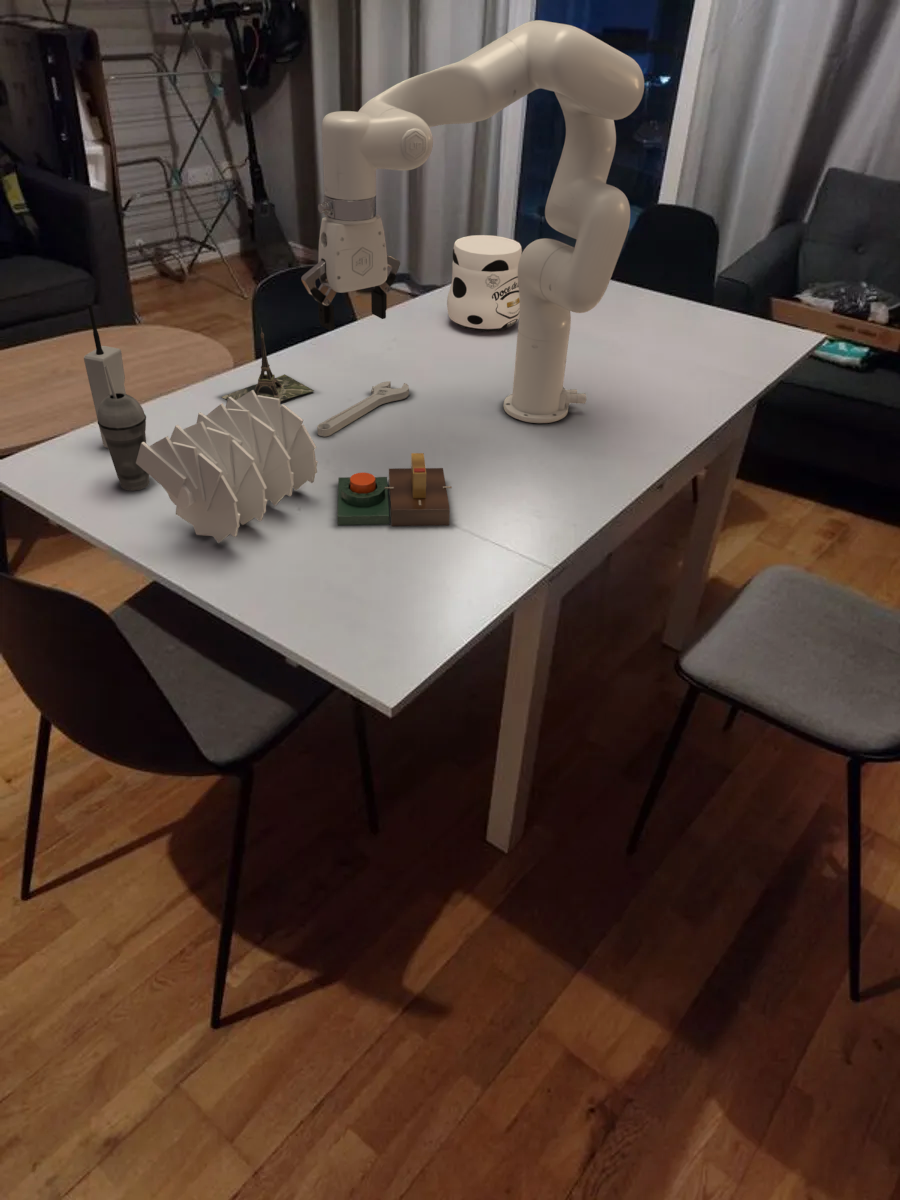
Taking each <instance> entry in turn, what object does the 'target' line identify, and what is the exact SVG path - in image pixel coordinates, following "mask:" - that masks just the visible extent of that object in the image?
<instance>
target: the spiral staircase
mask: <svg viewBox="0 0 900 1200" xmlns="http://www.w3.org/2000/svg"><path fill="white" fill-rule="evenodd" d="M317 448H318V447H317V446H316V444H315V442H314V440H313V438H312V437H311V435H310V433H309V431H308V429H307V428H306V426H305V424H304V419H303V418H302V417H300V416H299V415H298V414H297V413H296V412H295V411H293V410H292V409H290V408H289V407H288V406H286V405H285V404H281V401H280V399H278V398H272V397H266V396H260V395H258V396H257V395H256V394H255V392H254V390H252V391H250V392H248V393H247V394H245V395H243V396H242V397H240V398H239V399H237V400H236V401H235V400H234V399H233V398H232V397H228V400H226V403H225V405H224V403H223V402H222V403H220V404H219V405H217V406H216V407H215V408H214V409H212V410H211V411H210V412H209V413H208V414H206V415H205V413H203V412H198V414H197V418H196V423H195V424H192V425H190V426H187V427H185V428H182V427H181V426H180V424H176V425H175V426H174V428H173V430H172V433H171V435H170V436H169V435H167V436H164V437H163V438H161V439H159V440H158V441H156V442H154V443H152V444H151V445H149V444H147V442H146V443H145V442H142V443H141V446H140V449H139V453H138V457H137V460H136V464H137V465H138V466H140V467H141V468H142V469H143V470H144V471H146V472H147V473H148V474H149V477H151V478H153V480H154V481H156V482H157V483H158V484H160V485H161V487H162V488H163V489H164V491H165V492H166V493H167V495H168V498H169V499H170V501H171V502H172V504H173V505H174V506H175V515H176V516H178V517H180V519H182V520H184V521H186V522H187V523H188V524H190V525H191V526H193V527H192V528H193V529H194V532H195V535H196V536H204V537H205V536H207V537H213V538H214V540H215V541H216V542H217V543H218V544H219V543H220V542H222V541H223V540H224V539H226V538H227V537H228V536H230V535H231V536H233V537H234V538H235V537H237V536H238V531H239V528H240V527H241V526H244V525H246V524H247V523H248V522H250V521H252V520H254V519H256V520H257V521H258V522H261V521H263V519H264V514H266V513H267V504H268V501H269V502H271V503H272V505H273V506H277V505H278V504H279V503H280V501H281V500H282V499H283V498H284V497H285V496H288V497H292V495H293V489H294V491H298V490H299V489H300V488H301V487H302V486H303V485H305V483H306V482H309V483H310V484H313V483H314V482H315V477H316V474H317V473H318V468H317V467H318V463H319V461H318V460H316V449H317ZM240 525H241V526H240Z"/></svg>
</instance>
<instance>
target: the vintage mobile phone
mask: <svg viewBox="0 0 900 1200" xmlns="http://www.w3.org/2000/svg"><path fill="white" fill-rule="evenodd" d="M87 308H88V313H89V318H90V323H91V327H92V336H93V340H94V344H95V349H94V350H92V351H89V352H88V353H87V354H85V355H84V356H83V361H84V362H83V363H84V365H85V371H86V375H87V380H88V384H89V388H90V392H91V397H92V401H93V407H94V411H95V415H96V419H97V421H98V409H99V406H100V404H101V402H102V401H103V400H104V399H105V398H106V397H107V396H109V395H111V394H112V392H111V388H110V385H109V381H108V378H107V375H106V371H105V368H104V366H106V365H107V366H108V369H109V372H110V376H111V379H112V383H113V386H114V390H115V393H124V394H127V391H126V386H125V379H126V375H125V369H124V360H123V353H122V349H121V348H117V347H113V346H107V345H102V343H101V338H100V334H99V331H98V328H97V323H96V319H95V314H94V313H95V312H94V309H93V308H94V307H93V304H92V303H91V302H89V303H87ZM98 428H99V433H100V437H101V442H102V446H103V447H104V448H106V449H108V446H107V443H106V440H105V437H104V435H103V433H102V431H101V429H100V426H99V425H98Z"/></svg>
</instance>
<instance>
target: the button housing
mask: <svg viewBox="0 0 900 1200" xmlns="http://www.w3.org/2000/svg"><path fill="white" fill-rule="evenodd" d="M350 477H351V476H349V477H347V476H346V477H341V476H340V477H338V481H337V483H338V485H337V487H338V489H337V517H336V518H337V526H377V525H378V526H380V525H384V526H385V525H386V526H387V525H390V500H389V489H385V487H389V483H388V476H374V477H375V484H376V488H375V490H374V491H373V492H370V493H366V494H358V493H355V492H352V491H351V489H350Z"/></svg>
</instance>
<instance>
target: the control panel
mask: <svg viewBox="0 0 900 1200" xmlns="http://www.w3.org/2000/svg"><path fill="white" fill-rule="evenodd" d="M452 488H453V487H452V486H451V485H449V486H447V483H446V479H445V473H444V468H443V467H426V498H413V493H412V483H411V467H409V468H408V467H407V468H405V467H404V468H403V467H402V468H401V467H400V468H388V487H385V489H388V495H389V511H390V526H391V527H419V526H420V527H429V526H430V527H431V526H433V527H436V526H450V512H451V510H450V502H449V496H448V491H447V489H452Z"/></svg>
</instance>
